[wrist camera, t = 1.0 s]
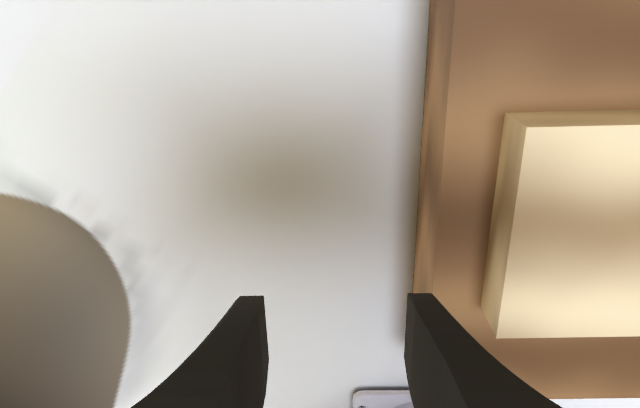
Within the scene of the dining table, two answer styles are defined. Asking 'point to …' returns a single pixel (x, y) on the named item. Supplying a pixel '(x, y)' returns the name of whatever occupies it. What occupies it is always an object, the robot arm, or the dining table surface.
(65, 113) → the dining table surface
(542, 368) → the walnut deck
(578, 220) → the birch tile
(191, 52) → the dining table surface
